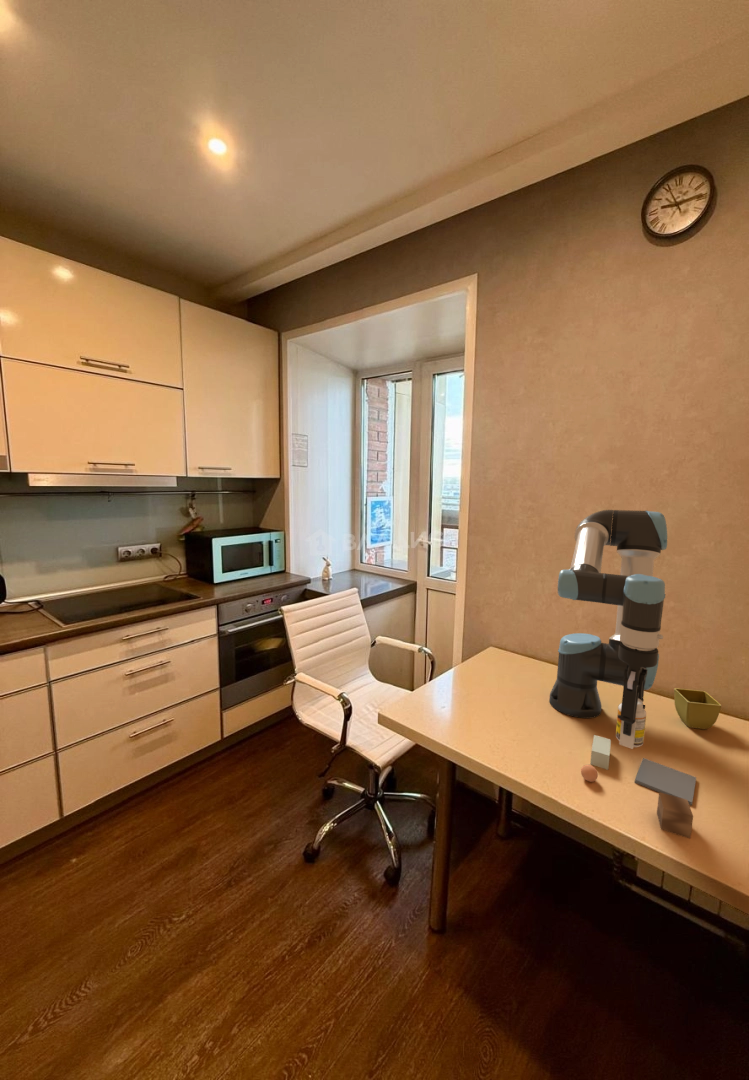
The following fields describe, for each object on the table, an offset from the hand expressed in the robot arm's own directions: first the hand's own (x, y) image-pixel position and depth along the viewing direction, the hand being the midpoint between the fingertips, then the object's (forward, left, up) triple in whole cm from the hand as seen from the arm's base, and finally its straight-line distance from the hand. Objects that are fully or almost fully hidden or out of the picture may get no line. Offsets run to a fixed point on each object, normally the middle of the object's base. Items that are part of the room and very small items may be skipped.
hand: (629, 739), depth 98 cm
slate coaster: (+7, +8, -12) cm, 16 cm away
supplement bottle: (0, 0, -1) cm, 1 cm away
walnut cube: (+10, -7, -12) cm, 17 cm away
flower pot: (+10, +44, -12) cm, 47 cm away
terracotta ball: (-7, -4, -10) cm, 13 cm away
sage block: (-7, +7, -12) cm, 16 cm away
